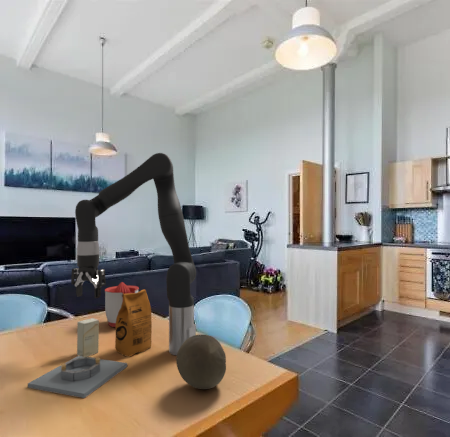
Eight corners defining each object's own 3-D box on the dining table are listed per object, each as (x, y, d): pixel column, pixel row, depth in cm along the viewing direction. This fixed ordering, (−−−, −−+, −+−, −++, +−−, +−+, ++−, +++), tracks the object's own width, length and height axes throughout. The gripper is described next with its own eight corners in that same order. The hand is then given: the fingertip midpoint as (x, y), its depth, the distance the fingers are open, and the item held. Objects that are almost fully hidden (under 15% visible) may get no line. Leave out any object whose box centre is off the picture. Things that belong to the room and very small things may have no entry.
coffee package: (111, 351, 118) (111, 292, 118) (139, 342, 128) (139, 287, 128) (127, 358, 112) (127, 296, 112) (155, 347, 122) (155, 290, 122)
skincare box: (83, 358, 112) (83, 323, 113) (76, 355, 115) (76, 321, 115) (99, 352, 118) (99, 319, 118) (92, 349, 120) (92, 317, 120)
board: (127, 366, 106) (127, 362, 106) (84, 398, 87) (84, 393, 87) (78, 359, 111) (78, 355, 111) (27, 387, 92) (27, 383, 92)
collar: (106, 367, 103) (106, 356, 103) (82, 383, 92) (82, 371, 92) (79, 362, 106) (79, 353, 106) (52, 378, 95) (52, 367, 95)
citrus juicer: (114, 333, 138) (114, 287, 139) (99, 323, 151) (99, 282, 152) (146, 325, 149) (146, 282, 149) (130, 317, 162) (130, 278, 162)
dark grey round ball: (201, 372, 102) (201, 325, 102) (236, 386, 93) (235, 334, 93) (167, 390, 91) (167, 337, 91) (202, 408, 82) (202, 349, 82)
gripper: (110, 253, 119) (110, 296, 119) (81, 252, 124) (81, 293, 124) (95, 254, 112) (95, 300, 112) (65, 253, 117) (65, 297, 117)
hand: (88, 297), depth 118 cm, fingers open, 8 cm apart
